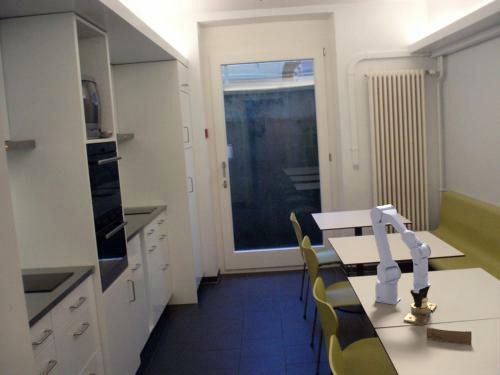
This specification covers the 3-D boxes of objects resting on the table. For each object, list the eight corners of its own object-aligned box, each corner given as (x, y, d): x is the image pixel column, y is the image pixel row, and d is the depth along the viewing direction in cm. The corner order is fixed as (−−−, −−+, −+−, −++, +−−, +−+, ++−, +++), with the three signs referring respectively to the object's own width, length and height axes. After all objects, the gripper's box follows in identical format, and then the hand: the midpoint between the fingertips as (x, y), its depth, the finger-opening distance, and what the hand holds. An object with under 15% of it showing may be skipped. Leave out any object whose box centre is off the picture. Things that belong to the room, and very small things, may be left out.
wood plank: (471, 343, 173) (471, 330, 172) (471, 345, 171) (471, 332, 170) (426, 338, 178) (426, 325, 178) (426, 340, 177) (426, 328, 176)
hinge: (403, 321, 193) (403, 313, 193) (418, 303, 211) (418, 295, 211) (423, 325, 189) (423, 317, 188) (436, 306, 207) (436, 298, 206)
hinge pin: (414, 315, 199) (413, 299, 198) (417, 310, 203) (417, 295, 202) (426, 317, 196) (426, 301, 195) (429, 312, 200) (429, 297, 199)
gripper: (426, 279, 189) (426, 311, 191) (434, 269, 201) (434, 299, 203) (408, 277, 193) (408, 308, 195) (417, 267, 205) (417, 296, 207)
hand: (420, 303), depth 199 cm, fingers open, 7 cm apart
